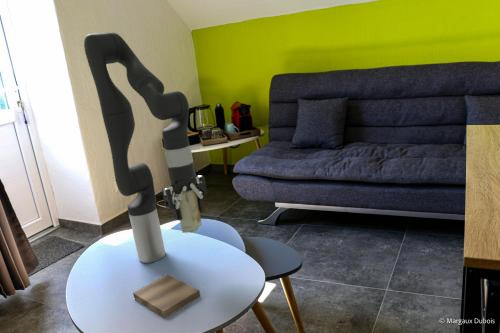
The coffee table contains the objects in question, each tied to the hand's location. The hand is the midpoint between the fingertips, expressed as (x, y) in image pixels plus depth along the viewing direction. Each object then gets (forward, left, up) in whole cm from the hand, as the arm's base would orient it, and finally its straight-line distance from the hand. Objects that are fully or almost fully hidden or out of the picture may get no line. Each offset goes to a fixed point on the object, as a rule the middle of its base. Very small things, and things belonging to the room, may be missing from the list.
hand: (189, 214), depth 128 cm
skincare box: (0, 0, -5) cm, 5 cm away
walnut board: (+2, -14, -20) cm, 24 cm away
